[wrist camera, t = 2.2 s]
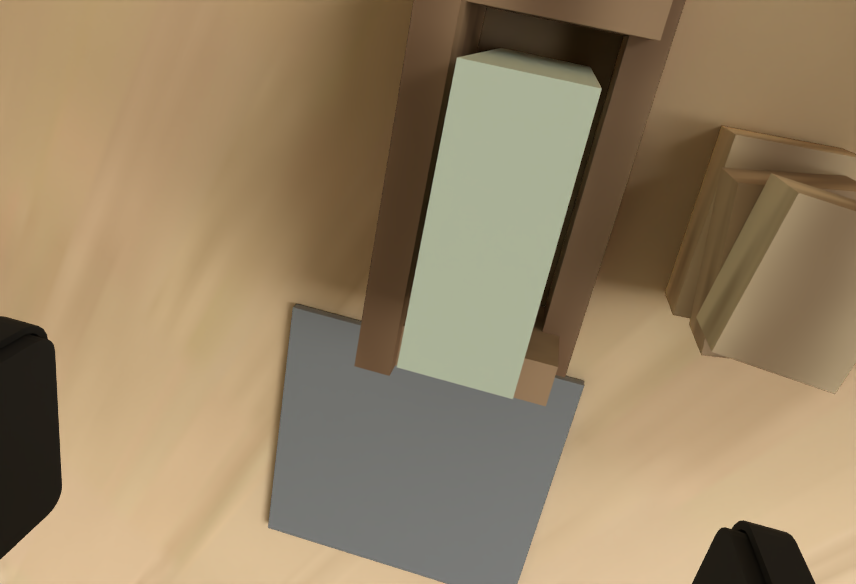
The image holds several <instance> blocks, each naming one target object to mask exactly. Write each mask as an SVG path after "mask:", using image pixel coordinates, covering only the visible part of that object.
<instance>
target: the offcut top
mask: <svg viewBox="0 0 856 584" xmlns="http://www.w3.org/2000/svg"><path fill="white" fill-rule="evenodd" d="M696 318H697V320H698V322H699V325H700V327H701V329H702V331H703V334H704V336H705V338H706V340H707V343H708V345H709V347H710V349H711V351H712V352H714V353H716V354H719V355H722V356H725V357H728V358H731V359H734V360H737V361H740V362H743V363H746V364H748V365H751V366H754V367H757V368H760V369H763V370H766V371H769V372H772V373H775V374H778V375H780V376H783V377H786V378H789V379H792V380H795V381H798V382H801V383H804V384H807V385H810V386H812V387H815V388H818V389H821V390H824V391H827V392H830V393H833V394H835V393H836V392H837V390H838V389H839V387H840V386H841V384H842V383H843V381H844V380H845V378H846V377H847V375H848V374H849V372H850V371H851V369H852V368H853V366H854V365H855V363H856V200H853V199H850V198H847V197H843V196H840V195H837V194H834V193H831V192H828V191H825V190H822V189H819V188H815V187H812V186H809V185H806V184H803V183H800V182H797V181H794V180H791V179H788V178H784V177H781V176H778V175H775V174H772V173H771V175H770V177H769V178H768V180H767V182H766V184H765V186H764V188H763V190H762V192H761V194H760V196H759V198H758V200H757V201H756V203H755V205H754V207H753V209H752V211H751V213H750V215H749V217H748V219H747V221H746V223H745V224H744V226H743V228H742V230H741V232H740V234H739V236H738V238H737V240H736V242H735V244H734V246H733V247H732V249H731V251H730V253H729V255H728V257H727V259H726V261H725V263H724V265H723V267H722V269H721V270H720V272H719V274H718V276H717V278H716V280H715V282H714V284H713V286H712V288H711V290H710V292H709V293H708V295H707V297H706V299H705V301H704V303H703V305H702V307H701V309H700V311H699V313H698V314H697V316H696Z"/></svg>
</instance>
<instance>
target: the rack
mask: <svg viewBox="0 0 856 584" xmlns="http://www.w3.org/2000/svg"><path fill="white" fill-rule="evenodd" d="M685 1H686V0H414V2H413V8H412V15H411V21H410V27H409V33H408V39H407V45H406V51H405V58H404V64H403V70H402V76H401V82H400V88H399V94H398V101H397V107H396V113H395V119H394V125H393V131H392V137H391V144H390V150H389V156H388V162H387V168H386V174H385V180H384V187H383V193H382V199H381V205H380V211H379V217H378V223H377V230H376V236H375V242H374V248H373V254H372V260H371V266H370V273H369V279H368V285H367V291H366V297H365V303H364V309H363V316H362V322H361V328H360V334H359V340H358V346H357V352H356V359H355V365H354V366H355V367H359V368H362V369H366V370H369V371H373V372H377V373H380V374H384V375H388V376H390V374H391V372H392V370H393V369H394V367H395V365H397V364H398V358H399V353H400V348H401V343H402V338H403V333H404V328H405V322H406V317H407V312H408V307H409V302H410V297H411V292H412V286H413V281H414V276H415V271H416V266H417V261H418V255H419V250H420V245H421V240H422V235H423V230H424V225H425V219H426V214H427V209H428V204H429V199H430V194H431V189H432V183H433V178H434V173H435V168H436V163H437V158H438V153H439V147H440V142H441V137H442V132H443V127H444V122H445V117H446V111H447V106H448V101H449V96H450V91H451V86H452V80H453V75H454V70H455V65H456V60H457V57H462V56H466V55H471V54H475V53H477V50H478V45H479V40H480V35H481V30H482V26H483V21H484V16H485V11H486V7H489V8H494V9H499V10H503V11H508V12H513V13H518V14H523V15H528V16H533V17H538V18H543V19H547V20H552V21H557V22H562V23H567V24H572V25H577V26H582V27H587V28H591V29H596V30H601V31H606V32H611V33H616V34H621V35H624V36H623V39H622V43H621V46H620V50H619V53H618V57H617V60H616V64H615V67H614V70H613V74H612V77H611V81H610V84H609V88H608V91H607V95H606V98H605V101H604V105H603V108H602V112H601V115H600V119H599V122H598V126H597V129H596V132H595V136H594V139H593V143H592V146H591V150H590V153H589V157H588V160H587V163H586V167H585V170H584V174H583V177H582V181H581V184H580V188H579V191H578V194H577V198H576V201H575V205H574V208H573V212H572V215H571V219H570V222H569V225H568V229H567V232H566V236H565V239H564V243H563V246H562V249H561V253H560V256H559V260H558V263H557V267H556V270H555V274H554V277H553V280H552V284H551V287H550V291H549V294H548V298H547V301H546V305H545V307H543V306H539V310H538V313H537V317H536V320H535V324H534V327H533V330H532V334H531V337H530V341H529V344H528V348H527V351H526V355H525V358H524V362H523V365H522V369H521V372H520V376H519V379H518V383H517V386H516V390H515V393H514V397H513V398H517V399H520V400H524V401H528V402H531V403H535V404H539V405H542V406H546V404H547V401H548V398H549V394H550V391H551V388H552V385H553V382H554V378H555V375H557V376H561V377H565V375H566V372H567V369H568V366H569V363H570V359H571V356H572V353H573V350H574V347H575V344H576V341H577V338H578V335H579V331H580V328H581V325H582V322H583V319H584V316H585V313H586V310H587V306H588V303H589V300H590V297H591V294H592V291H593V288H594V285H595V281H596V278H597V275H598V272H599V269H600V266H601V263H602V260H603V257H604V253H605V250H606V247H607V244H608V241H609V238H610V235H611V232H612V228H613V225H614V222H615V219H616V216H617V213H618V210H619V207H620V203H621V200H622V197H623V194H624V191H625V188H626V185H627V182H628V179H629V175H630V172H631V169H632V166H633V163H634V160H635V157H636V154H637V150H638V147H639V144H640V141H641V138H642V135H643V132H644V129H645V125H646V122H647V119H648V116H649V113H650V110H651V107H652V104H653V101H654V97H655V94H656V91H657V88H658V85H659V82H660V79H661V76H662V72H663V69H664V66H665V63H666V60H667V57H668V54H669V51H670V47H671V44H672V41H673V38H674V35H675V32H676V29H677V26H678V23H679V19H680V16H681V13H682V10H683V7H684V4H685Z"/></svg>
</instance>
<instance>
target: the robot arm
mask: <svg viewBox="0 0 856 584" xmlns="http://www.w3.org/2000/svg"><path fill="white" fill-rule="evenodd" d="M61 490H62V478H61V459H60V439H59V420H58V400H57V381H56V362H55V349H54V345H53V343H52V342H51V341H50V340H48V338H47V334H46V332H45V331H44V329H42V328H41V327H39V326H36V325H33V324H29V323H26V322H22V321H18V320H15V319H11V318H7V317H1V316H0V559H1V558H2V557H3V556H5V555H6V554H7V553H8V552H9V551H10V550H11V549H12V548H13V547H14V546H15V545H16V544H17V543H18V542H19V541H21V540H22V539H23V538H24V537H25V536H26V535H27V534H28V533H29V532H30V531H31V530H32V529H33V528H34V527H35V526H37V525H38V524H39V523H40V522H41V521H42V520H43V519H44V518H45V517H46V516H47V515H48V514H49V513H50V512H51V511H52V510H53V508H54V507H55V505H56V504H57V502H58V500H59V498H60V494H61ZM692 584H815V582H814V580H813V577H812V575H811V573H810V571H809V569H808V567H807V565H806V562H805V560H804V558H803V556H802V554H801V552H800V549H799V547H798V545H797V543H796V541H795V540H794V538H793V537H792V535H790V534H788V533H787V532H783V531H780V530H776V529H773V528H769V527H765V526H762V525H758V524H754V523H751V522H747V521H739V522H737V523H736V524H735V525H734V526H733V528H732V529H729V528H721V529H720V530H718V532H717V534H716V535H715V537H714V539H713V541H712V543H711V545H710V548H709V550H708V552H707V554H706V556H705V558H704V560H703V562H702V564H701V566H700V568H699V570H698V572H697V574H696V576H695V578H694V581H693V583H692Z"/></svg>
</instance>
